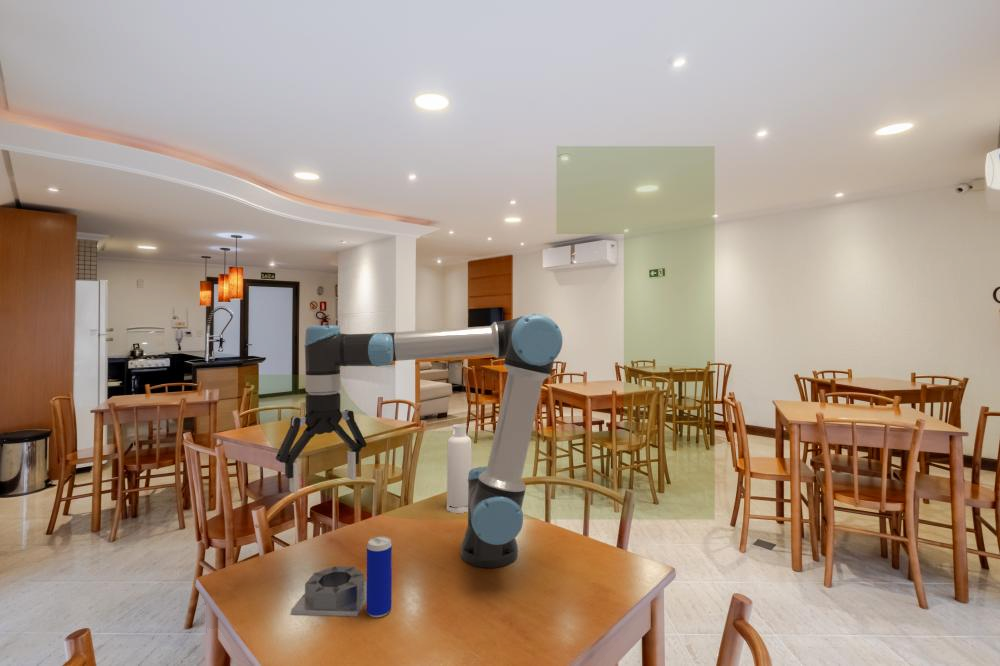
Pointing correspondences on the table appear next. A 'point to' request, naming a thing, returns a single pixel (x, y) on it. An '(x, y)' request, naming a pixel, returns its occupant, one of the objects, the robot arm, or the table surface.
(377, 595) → the beverage can
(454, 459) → the bottle
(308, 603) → the socket
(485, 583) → the table surface
